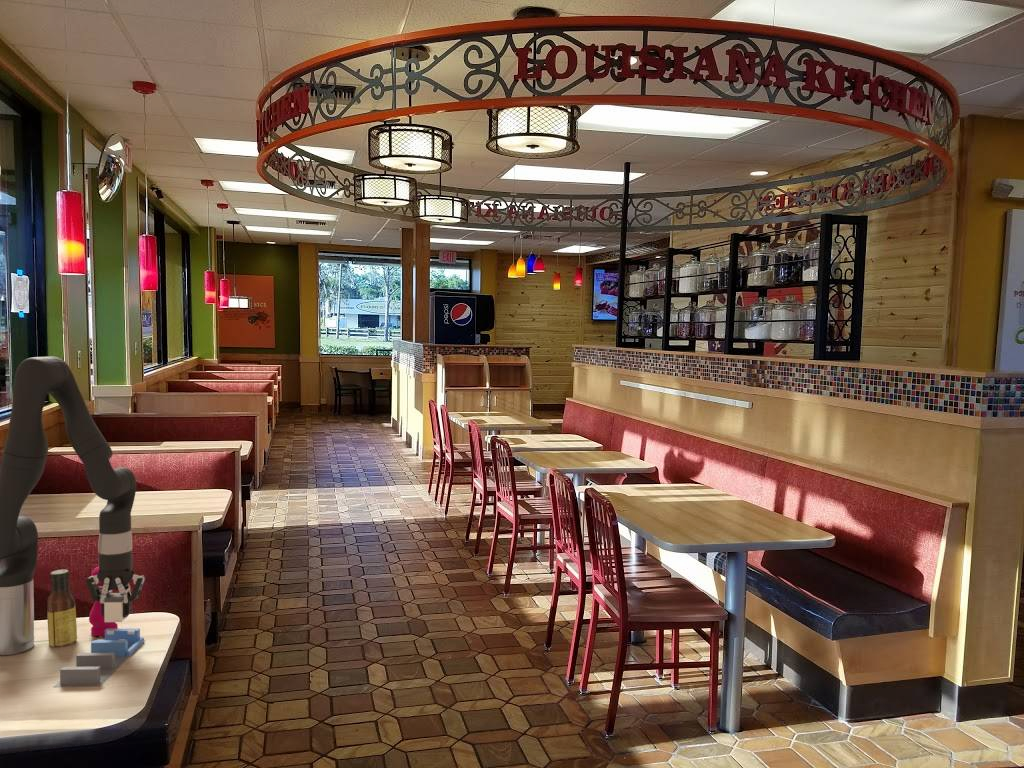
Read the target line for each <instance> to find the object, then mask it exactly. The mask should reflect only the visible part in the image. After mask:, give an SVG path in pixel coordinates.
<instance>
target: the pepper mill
mask: <svg viewBox="0 0 1024 768" xmlns="http://www.w3.org/2000/svg"><path fill="white" fill-rule="evenodd" d="M98 572H99V565H98V566H95V568H93V570H92V571H91V576H92V575H93V576H95V575H97V574H98ZM98 586H99V589H100V591H101V593H102V589H103V585H102V583H101V582H100V581H99V580H98ZM111 593H114V590H112V591H111ZM88 621H89V624H91V625H92V627H91V628H90V635H91V636H92V635H93V636H92V637H94V636H105V630H106V629H119V627H118V622H105V620H104V616H102V614H101V603H100V602H99V601H94V603H93V606H92V607H91V610H90V612H89V615H88Z"/></svg>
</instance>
